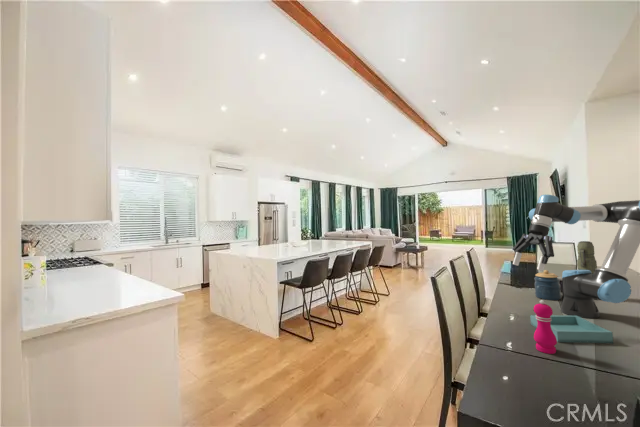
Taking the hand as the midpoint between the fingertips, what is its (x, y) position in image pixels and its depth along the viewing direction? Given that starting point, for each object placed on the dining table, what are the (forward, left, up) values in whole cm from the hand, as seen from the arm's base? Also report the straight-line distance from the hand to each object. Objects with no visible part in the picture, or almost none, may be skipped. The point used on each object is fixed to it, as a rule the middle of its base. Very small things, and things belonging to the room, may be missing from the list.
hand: (527, 267), depth 133 cm
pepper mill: (+7, +23, -29) cm, 38 cm away
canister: (-36, -52, -29) cm, 70 cm away
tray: (-12, +5, -29) cm, 32 cm away
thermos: (-59, -52, -29) cm, 84 cm away
